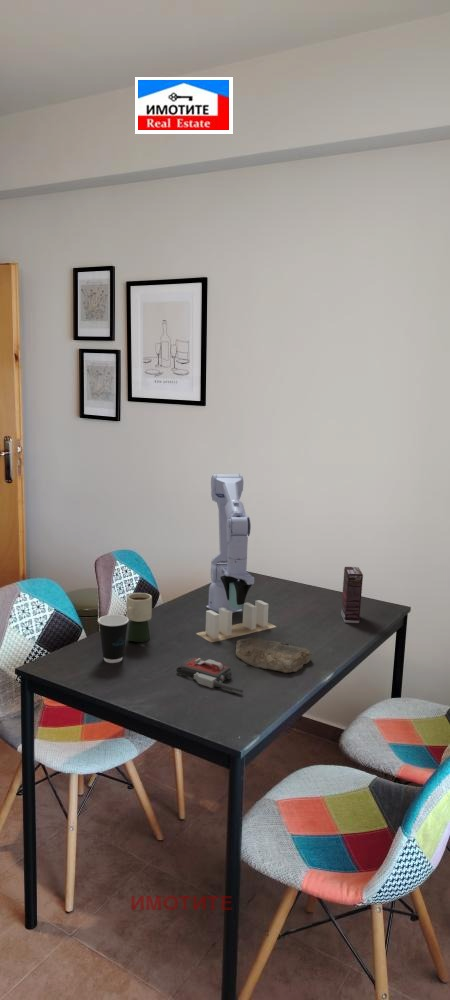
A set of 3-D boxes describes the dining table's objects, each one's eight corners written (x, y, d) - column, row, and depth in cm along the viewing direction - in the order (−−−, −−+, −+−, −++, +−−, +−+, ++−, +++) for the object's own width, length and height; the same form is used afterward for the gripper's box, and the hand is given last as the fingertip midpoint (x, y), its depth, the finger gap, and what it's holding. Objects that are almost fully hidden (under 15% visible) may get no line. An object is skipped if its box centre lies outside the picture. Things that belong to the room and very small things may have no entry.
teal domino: (237, 609, 205) (238, 586, 204) (228, 605, 208) (229, 583, 207) (241, 609, 206) (242, 586, 204) (233, 604, 209) (233, 582, 208)
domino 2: (226, 635, 203) (227, 612, 201) (218, 631, 206) (218, 608, 205) (231, 634, 203) (232, 611, 202) (222, 629, 207) (223, 607, 206)
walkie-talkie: (170, 677, 176) (240, 698, 166) (171, 661, 176) (240, 681, 166) (190, 665, 184) (257, 685, 174) (190, 649, 183) (258, 668, 173)
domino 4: (263, 627, 210) (264, 604, 209) (254, 622, 214) (255, 600, 213) (267, 626, 211) (268, 604, 210) (258, 621, 215) (259, 599, 213)
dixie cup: (121, 667, 180) (122, 626, 178) (93, 663, 182) (93, 623, 180) (132, 655, 188) (133, 616, 186) (104, 651, 190) (105, 613, 188)
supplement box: (360, 623, 218) (363, 574, 215) (344, 623, 218) (347, 573, 215) (355, 614, 226) (358, 566, 224) (340, 613, 227) (343, 566, 224)
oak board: (195, 635, 204) (195, 633, 204) (260, 620, 218) (260, 618, 217) (211, 644, 197) (211, 642, 197) (276, 628, 211) (276, 626, 211)
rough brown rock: (223, 660, 188) (290, 678, 178) (223, 642, 187) (291, 659, 177) (249, 645, 200) (313, 661, 189) (249, 628, 199) (314, 643, 189)
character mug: (138, 631, 205) (139, 589, 202) (159, 636, 202) (160, 593, 199) (117, 644, 195) (117, 599, 193) (138, 649, 192) (139, 604, 190)
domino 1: (214, 638, 200) (214, 615, 199) (205, 633, 203) (206, 610, 202) (218, 637, 201) (219, 614, 200) (210, 632, 204) (210, 609, 203)
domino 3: (251, 630, 208) (252, 607, 206) (242, 625, 211) (243, 603, 210) (255, 629, 209) (256, 606, 207) (246, 624, 212) (247, 602, 211)
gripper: (211, 553, 208) (210, 597, 210) (241, 564, 196) (239, 611, 199) (231, 550, 212) (229, 593, 214) (260, 561, 200) (258, 607, 203)
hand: (235, 601), depth 207 cm, fingers closed on teal domino, 4 cm apart
